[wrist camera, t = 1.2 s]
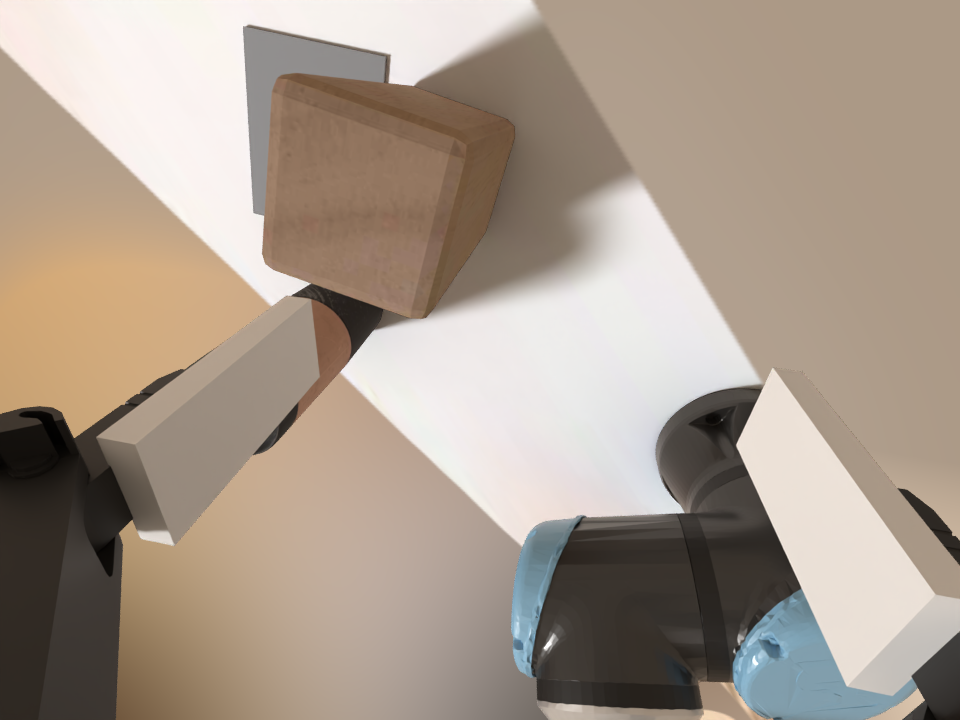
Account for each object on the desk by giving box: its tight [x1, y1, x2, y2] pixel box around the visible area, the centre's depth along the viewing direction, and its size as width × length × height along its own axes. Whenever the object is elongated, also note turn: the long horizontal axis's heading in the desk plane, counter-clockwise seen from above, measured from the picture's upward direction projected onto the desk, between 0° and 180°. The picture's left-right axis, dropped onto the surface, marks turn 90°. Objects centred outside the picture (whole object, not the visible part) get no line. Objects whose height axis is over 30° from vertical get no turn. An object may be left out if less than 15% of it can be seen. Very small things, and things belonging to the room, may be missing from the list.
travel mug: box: [185, 284, 383, 455], centre depth 40 cm, size 8×8×20 cm
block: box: [262, 73, 515, 319], centre depth 32 cm, size 10×10×20 cm
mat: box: [243, 26, 387, 215], centre depth 41 cm, size 12×15×1 cm
